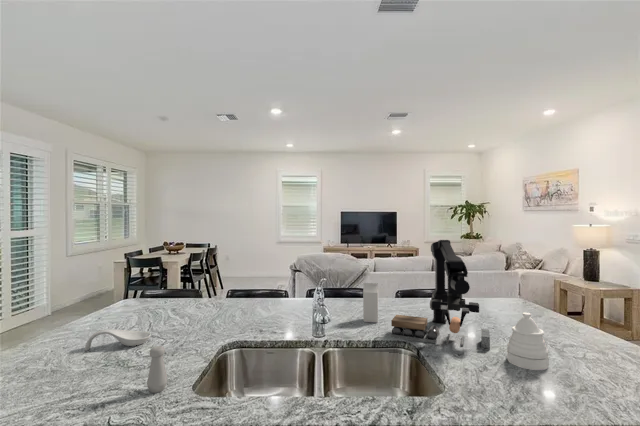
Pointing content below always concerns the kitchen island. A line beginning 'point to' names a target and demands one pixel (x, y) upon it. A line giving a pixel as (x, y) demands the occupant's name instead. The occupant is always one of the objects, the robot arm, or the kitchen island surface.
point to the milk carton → (370, 302)
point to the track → (419, 334)
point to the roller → (455, 325)
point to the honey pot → (527, 345)
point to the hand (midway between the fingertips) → (455, 325)
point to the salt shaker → (157, 370)
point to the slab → (409, 322)
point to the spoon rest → (122, 337)
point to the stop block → (485, 339)
